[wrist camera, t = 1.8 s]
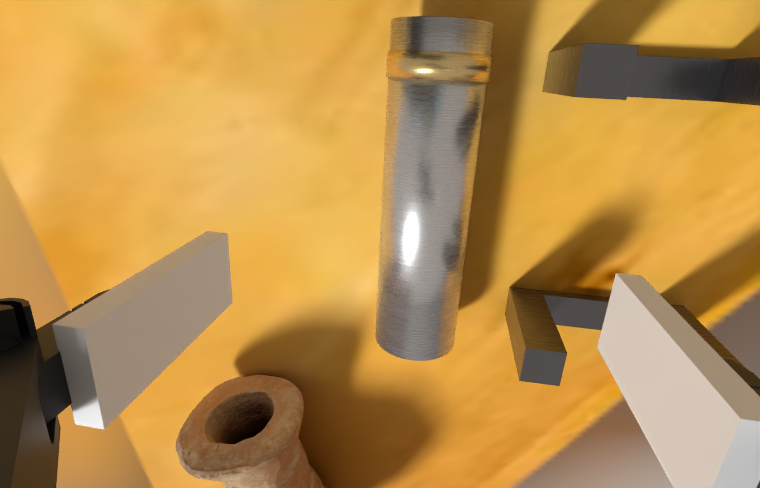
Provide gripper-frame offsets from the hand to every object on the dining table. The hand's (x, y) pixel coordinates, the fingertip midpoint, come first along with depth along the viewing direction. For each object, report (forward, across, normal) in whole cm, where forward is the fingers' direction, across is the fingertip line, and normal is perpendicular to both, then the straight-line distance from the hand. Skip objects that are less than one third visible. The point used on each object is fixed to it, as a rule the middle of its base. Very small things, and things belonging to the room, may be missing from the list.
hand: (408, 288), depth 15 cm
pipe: (+14, -9, -22) cm, 28 cm away
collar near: (+13, +11, +8) cm, 19 cm away
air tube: (+13, 0, 0) cm, 13 cm away
